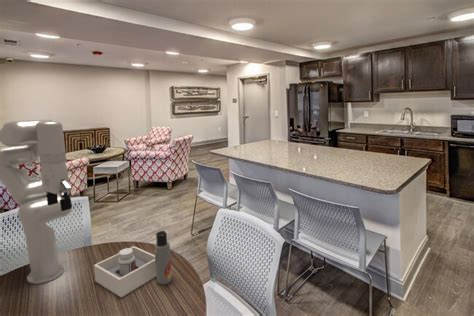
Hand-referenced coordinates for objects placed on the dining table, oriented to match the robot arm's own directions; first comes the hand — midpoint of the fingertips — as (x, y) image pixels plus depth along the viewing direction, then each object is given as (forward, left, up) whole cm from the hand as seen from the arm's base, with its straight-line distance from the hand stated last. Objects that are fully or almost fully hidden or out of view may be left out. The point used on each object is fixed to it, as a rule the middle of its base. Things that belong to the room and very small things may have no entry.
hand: (59, 206), depth 100 cm
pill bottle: (+9, +18, -33) cm, 39 cm away
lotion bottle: (+23, +24, -33) cm, 47 cm away
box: (+10, +18, -33) cm, 39 cm away
